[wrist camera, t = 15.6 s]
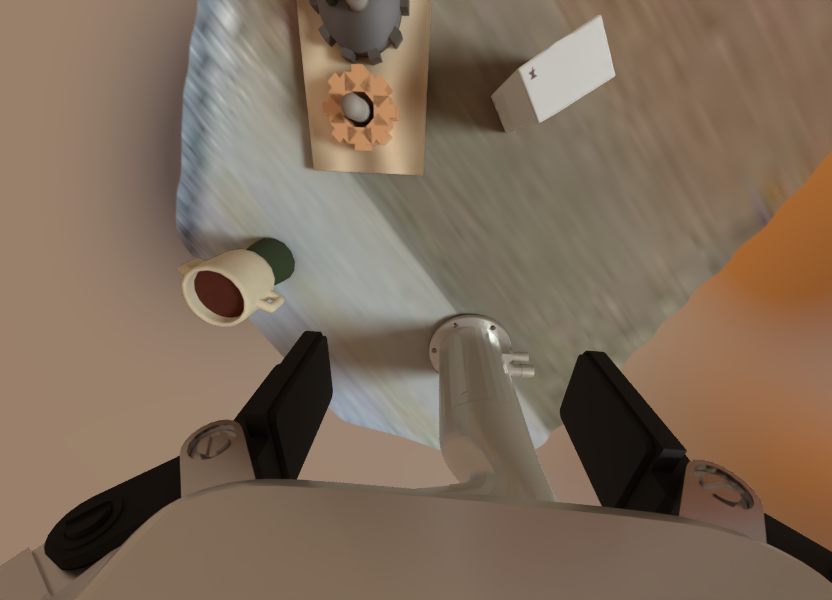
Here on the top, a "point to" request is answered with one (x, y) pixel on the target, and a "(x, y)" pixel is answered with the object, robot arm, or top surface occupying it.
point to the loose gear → (362, 86)
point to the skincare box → (555, 77)
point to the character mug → (236, 282)
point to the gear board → (381, 54)
